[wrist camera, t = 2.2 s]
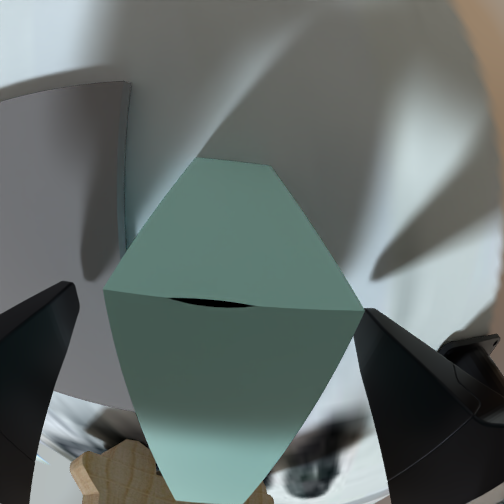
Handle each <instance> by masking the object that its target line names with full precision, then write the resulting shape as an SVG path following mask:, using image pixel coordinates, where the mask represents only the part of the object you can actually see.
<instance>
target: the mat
mask: <svg viewBox="0 0 504 504" xmlns="http://www.w3.org/2000/svg"><path fill="white" fill-rule="evenodd" d="M130 91H131V83H129V82H125V81H116V82H104V83H93V84H84V85H77V86H70V87H63V88H57V89H52V90H46V91H41V92H36V93H32V94H28V95H23V96H19V97H15V98H12V99H8V100H4V101H1V102H0V314H1V313H3V312H5V311H7V310H8V309H10V308H12V307H14V306H16V305H17V304H19V303H21V302H23V301H25V300H26V299H28V298H30V297H32V296H34V295H36V294H38V293H39V292H41V291H43V290H45V289H47V288H49V287H51V286H53V285H55V284H57V283H59V282H61V281H69V282H73V283H74V284H75V286H76V290H77V295H78V299H79V303H80V310H79V314H78V317H77V320H76V323H75V327H74V330H73V333H72V337H71V340H70V344H69V347H68V351H67V353H66V356H65V359H64V362H63V364H62V367H61V370H60V373H59V375H58V378H57V381H56V384H55V387H54V390H53V391H56V392H59V393H62V394H65V395H68V396H72V397H75V398H78V399H82V400H85V401H89V402H93V403H97V404H101V405H105V406H109V407H114V408H118V409H123V410H128V411H133V412H135V410H134V407H133V404H132V401H131V398H130V395H129V392H128V389H127V386H126V383H125V380H124V377H123V373H122V370H121V367H120V363H119V359H118V356H117V352H116V348H115V344H114V340H113V336H112V332H111V328H110V323H109V319H108V314H107V309H106V304H105V299H104V293H103V288H104V286H105V285H106V283H107V281H108V280H109V278H110V276H111V275H112V273H113V272H114V270H115V268H116V267H117V265H118V264H119V262H120V261H121V259H122V257H123V256H124V254H125V253H126V235H125V205H124V178H125V148H126V132H127V119H128V108H129V99H130Z"/></svg>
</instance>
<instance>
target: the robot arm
mask: <svg viewBox="0 0 504 504" xmlns="http://www.w3.org/2000/svg"><path fill="white" fill-rule="evenodd" d="M79 310H80V303H79V299H78V295H77V290H76V286H75V284H74V283H73V282H69V281H61V282H59V283H57V284H55V285H53V286H51V287H49V288H47V289H45V290H43V291H41V292H39V293H38V294H36V295H34V296H32V297H30V298H28V299H26V300H25V301H23V302H21V303H19V304H17V305H16V306H14V307H12V308H10V309H8V310H7V311H5V312H3V313H1V314H0V503H1V504H29V501H30V492H31V484H32V478H33V472H34V466H35V460H36V455H37V450H38V445H39V441H40V437H41V432H42V428H43V425H44V421H45V417H46V414H47V410H48V407H49V403H50V400H51V397H52V393H53V390H54V387H55V384H56V381H57V378H58V375H59V373H60V370H61V367H62V364H63V362H64V359H65V356H66V353H67V351H68V347H69V344H70V340H71V337H72V333H73V330H74V327H75V323H76V320H77V317H78V314H79ZM364 310H365V312H364V314H363V316H362V318H361V320H360V322H359V325H358V327H357V329H356V331H355V333H354V335H353V336H354V341H355V346H356V352H357V357H358V362H359V368H360V372H361V376H362V380H363V383H364V387H365V390H366V394H367V398H368V401H369V405H370V409H371V412H372V416H373V420H374V424H375V428H376V432H377V436H378V440H379V444H380V449H381V453H382V458H383V462H384V467H385V472H386V476H387V481H388V487H389V493H390V498H391V503H392V504H504V376H503V375H502V373H501V372H500V370H499V369H498V367H497V366H496V364H495V363H494V362H493V360H492V359H491V358H490V356H489V355H490V354H491V352H492V351H493V350H494V348H495V347H496V345H497V344H498V342H499V341H500V337H499V336H498V334H493V335H488V336H483V337H478V338H473V339H467V340H461V341H455V342H450V343H447V344H446V345H445V346H443V347H442V349H441V350H440V351H439V353H438V352H437V351H435V350H434V349H432V348H431V347H430V346H428V345H427V344H425V343H424V342H422V341H421V340H420V339H418V338H417V337H415V336H414V335H412V334H411V333H410V332H408V331H407V330H405V329H404V328H402V327H401V326H400V325H398V324H397V323H395V322H394V321H392V320H391V319H389V318H388V317H387V316H385V315H384V314H382V313H381V312H379V311H378V310H376V309H374V308H364Z"/></svg>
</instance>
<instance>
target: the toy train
mask: <svg viewBox="0 0 504 504" xmlns="http://www.w3.org/2000/svg"><path fill="white" fill-rule="evenodd" d="M70 472H71V474H72V476H73V478H74V480H75V482H76V483H77V485H78V487H79V489H80V490H81V492H82V494H83V501H82V504H211V503H196V502H185V501H176V500H175V498H174V497H173V495H172V493H171V491H170V489H169V487H168V485H167V483H166V481H165V479H164V478H163V476H162V473H161V471H157V472H156V464H155V460H154V458H153V455H152V453H151V451H150V450H149V449H148V448H147V447H145V446H144V445H143V444H141V443H140V442H139V441H135V440H128V439H126V440H124V441H123V442H121V443H119V444H118V445H116V446H114V447H113V448H111V449H109V450H107V451H106V452H104V453H102V454H101V455H99V454H96V453H93V452H90V451H87V452H84V453H83V454H82V455H80V456H79V457H78V458H76V459H75V460H74V461H73V462H71V465H70ZM243 504H274V500H273V498H272V497H271V495H268V494H267V492H266V487H265V485H264V483H263V481H262V482H261V483H260V484H259V486H258V487H257V488H256V489H255V490H254V492H253V493H252V494H251V495H250V496H249V498H248V499H247V500H246V501H245V502H244V503H243Z"/></svg>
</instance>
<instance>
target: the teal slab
mask: <svg viewBox="0 0 504 504" xmlns="http://www.w3.org/2000/svg"><path fill="white" fill-rule="evenodd" d="M103 293H104V299H105V304H106V309H107V314H108V319H109V323H110V328H111V332H112V336H113V340H114V344H115V348H116V352H117V356H118V359H119V363H120V367H121V370H122V373H123V377H124V380H125V383H126V386H127V389H128V392H129V395H130V398H131V401H132V404H133V407H134V410H135V413H136V415H137V418H138V421H139V423H140V426H141V428H142V431H143V433H144V436H145V438H146V441H147V443H148V445H149V448H150V450H151V452H152V454H153V457H154V459H155V461H156V463H157V465H158V467H159V469H160V471H161V473H162V476H163V478H164V479H165V481H166V483H167V485H168V487H169V489H170V491H171V493H172V495H173V497H174V498H175V500H176V501H185V502H196V503H211V504H243V503H244V502H245V501H246V500H247V499H248V498H249V496H250V495H251V494H252V493H253V492H254V490H255V489H256V488H257V487H258V486H259V484H260V483H261V482H262V481H263V479H264V478H265V477H266V476H267V474H268V473H269V472H270V470H271V469H272V468H273V466H274V465H275V464H276V462H277V461H278V460H279V458H280V457H281V456H282V454H283V453H284V451H285V450H286V449H287V447H288V446H289V444H290V443H291V442H292V440H293V439H294V437H295V436H296V434H297V433H298V431H299V430H300V428H301V427H302V425H303V424H304V422H305V421H306V419H307V417H308V416H309V414H310V413H311V411H312V409H313V408H314V406H315V405H316V403H317V401H318V400H319V398H320V396H321V395H322V393H323V391H324V389H325V388H326V386H327V384H328V382H329V381H330V379H331V377H332V375H333V374H334V372H335V370H336V368H337V366H338V364H339V362H340V361H341V359H342V357H343V355H344V353H345V351H346V349H347V347H348V345H349V343H350V341H351V339H352V337H353V335H354V333H355V331H356V329H357V327H358V325H359V322H360V320H361V318H362V316H363V314H364V312H365V310H364V308H363V307H362V305H361V303H360V301H359V300H358V298H357V296H356V295H355V293H354V291H353V290H352V288H351V286H350V285H349V283H348V281H347V280H346V278H345V276H344V275H343V273H342V272H341V270H340V268H339V267H338V265H337V264H336V262H335V260H334V259H333V257H332V256H331V254H330V252H329V251H328V249H327V248H326V246H325V245H324V243H323V242H322V240H321V238H320V237H319V235H318V234H317V232H316V231H315V229H314V228H313V226H312V225H311V223H310V222H309V220H308V219H307V217H306V216H305V214H304V213H303V211H302V210H301V208H300V207H299V205H298V204H297V203H296V201H295V200H294V198H293V197H292V195H291V194H290V192H289V191H288V190H287V188H286V187H285V185H284V184H283V183H282V181H281V180H280V178H279V177H278V176H277V174H276V173H275V171H274V170H273V169H272V167H271V166H268V165H261V164H253V163H245V162H237V161H228V160H219V159H209V158H198V157H196V158H195V159H194V160H193V162H192V163H191V164H190V165H189V167H188V168H187V169H186V170H185V172H184V173H183V174H182V175H181V177H180V178H179V179H178V180H177V182H176V183H175V184H174V185H173V187H172V188H171V189H170V191H169V192H168V193H167V195H166V196H165V197H164V199H163V200H162V201H161V203H160V204H159V205H158V207H157V208H156V209H155V211H154V212H153V214H152V215H151V216H150V218H149V219H148V221H147V222H146V223H145V225H144V226H143V228H142V229H141V231H140V232H139V233H138V235H137V236H136V238H135V239H134V241H133V242H132V244H131V245H130V247H129V248H128V250H127V251H126V253H125V254H124V256H123V257H122V259H121V261H120V262H119V264H118V265H117V267H116V268H115V270H114V272H113V273H112V275H111V276H110V278H109V280H108V281H107V283H106V285H105V286H104V288H103ZM187 298H198V299H211V300H221V301H229V302H236V303H242V304H247V306H246V307H241V308H219V307H207V306H199V305H193V304H188V303H187Z"/></svg>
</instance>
